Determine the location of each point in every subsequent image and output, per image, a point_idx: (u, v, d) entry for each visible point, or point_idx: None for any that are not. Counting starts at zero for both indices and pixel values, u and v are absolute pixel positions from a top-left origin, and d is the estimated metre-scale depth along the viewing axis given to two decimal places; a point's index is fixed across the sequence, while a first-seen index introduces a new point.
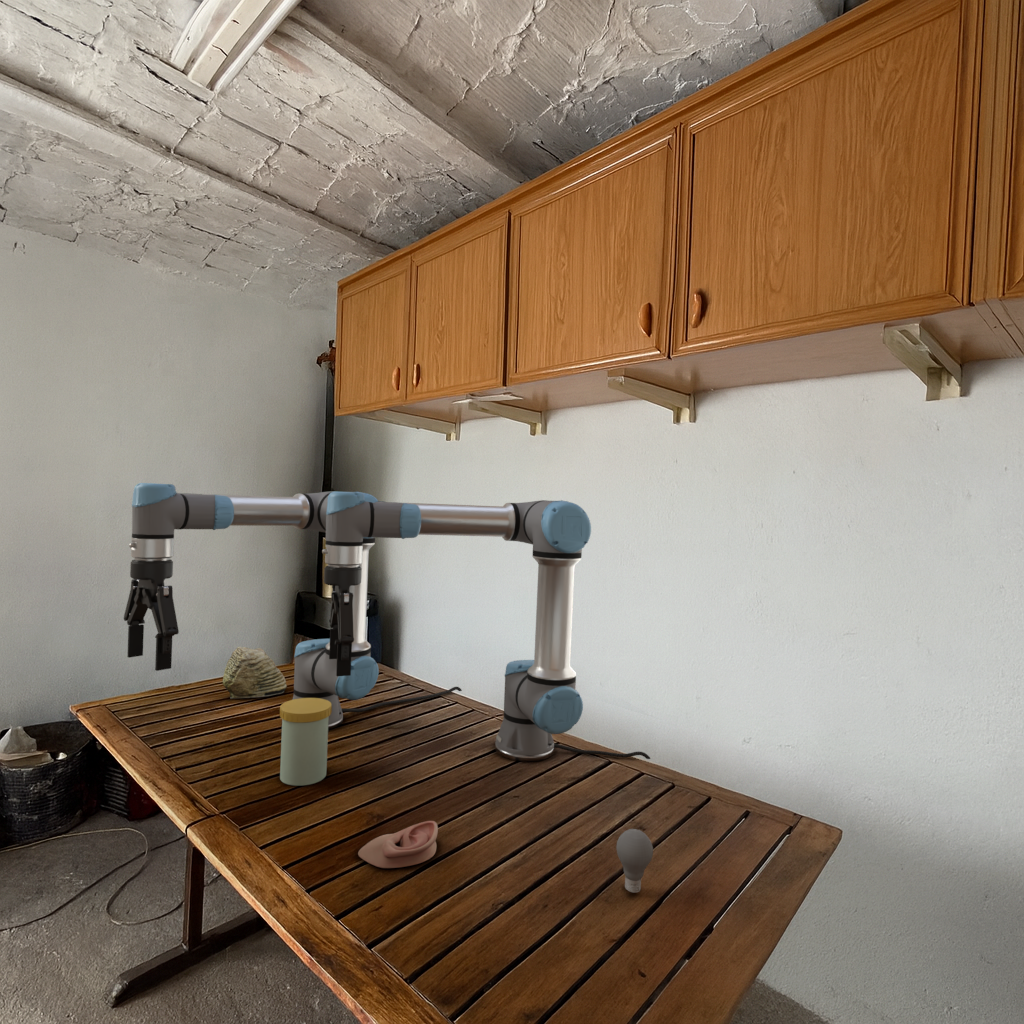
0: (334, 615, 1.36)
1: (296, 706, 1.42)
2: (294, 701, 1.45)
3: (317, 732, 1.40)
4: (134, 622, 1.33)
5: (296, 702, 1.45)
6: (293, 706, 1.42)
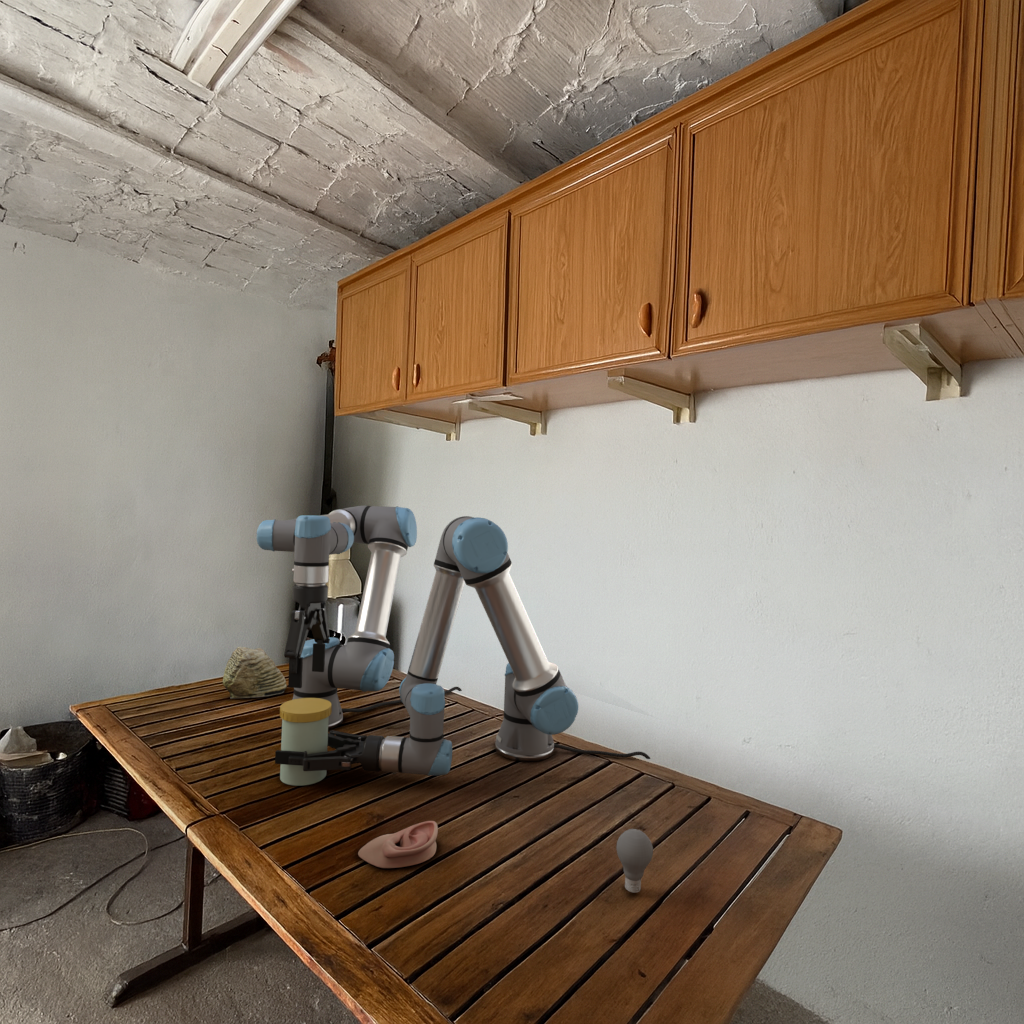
0: None
1: (296, 706, 1.42)
2: (294, 701, 1.45)
3: (317, 732, 1.40)
4: (319, 640, 1.50)
5: (296, 702, 1.45)
6: (293, 706, 1.42)
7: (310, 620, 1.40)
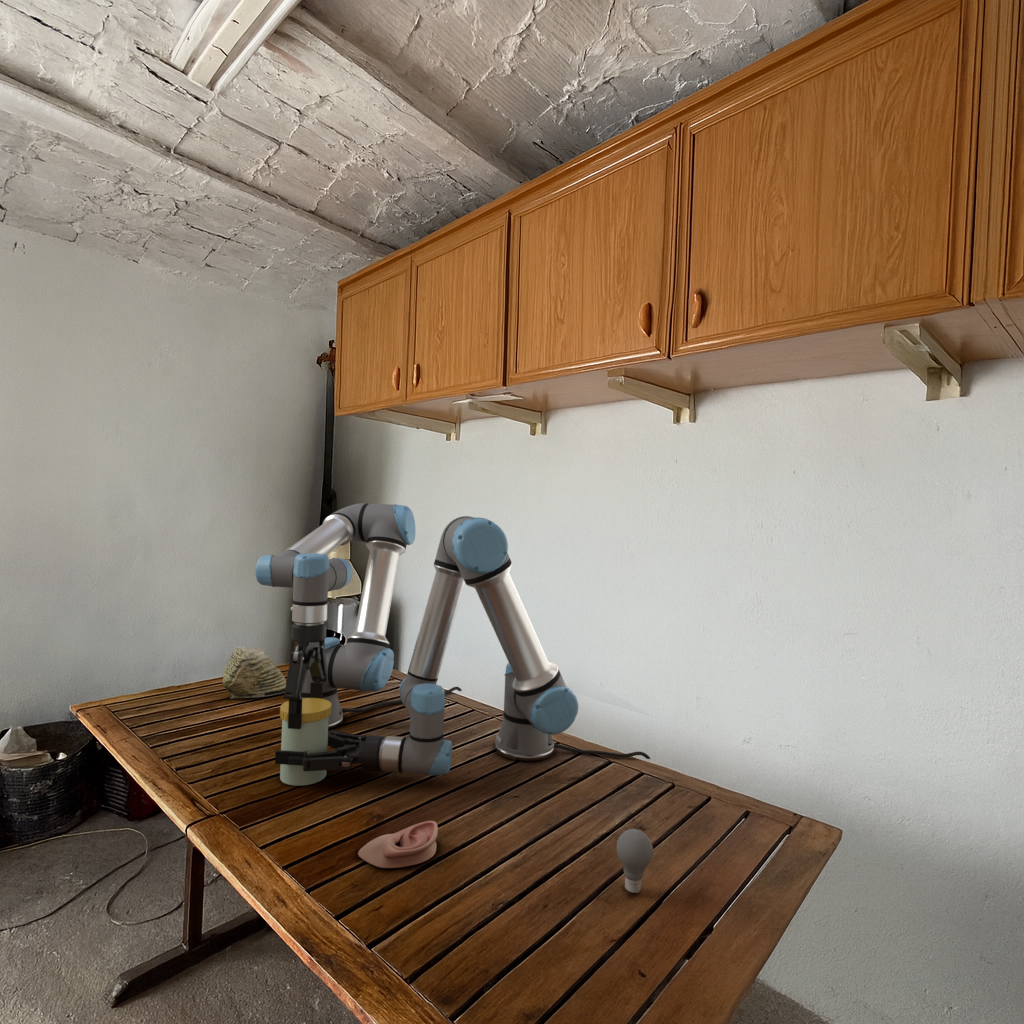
0: None
1: None
2: None
3: (317, 732, 1.40)
4: (316, 679, 1.49)
5: None
6: None
7: (309, 660, 1.40)
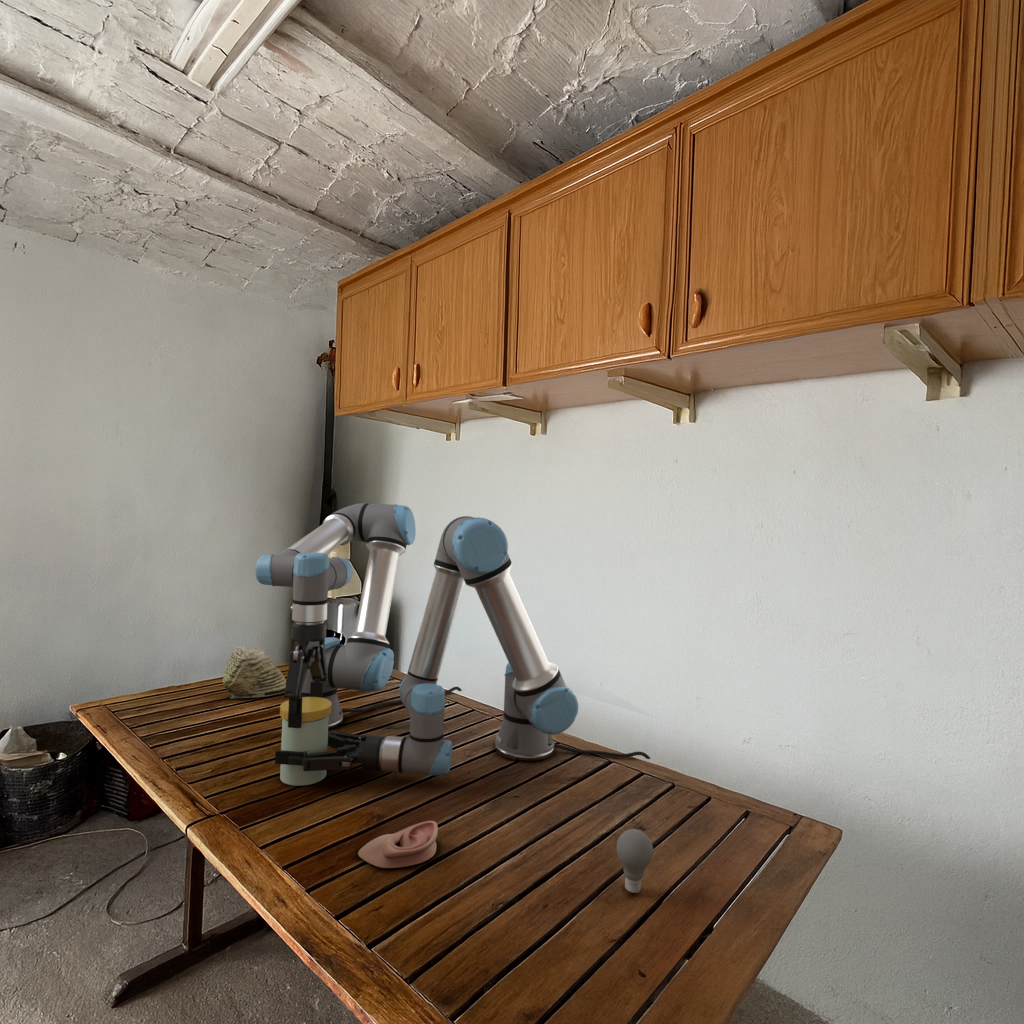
0: None
1: (304, 707, 1.41)
2: (286, 707, 1.41)
3: (317, 732, 1.40)
4: (316, 678, 1.49)
5: None
6: (302, 708, 1.40)
7: (309, 659, 1.40)
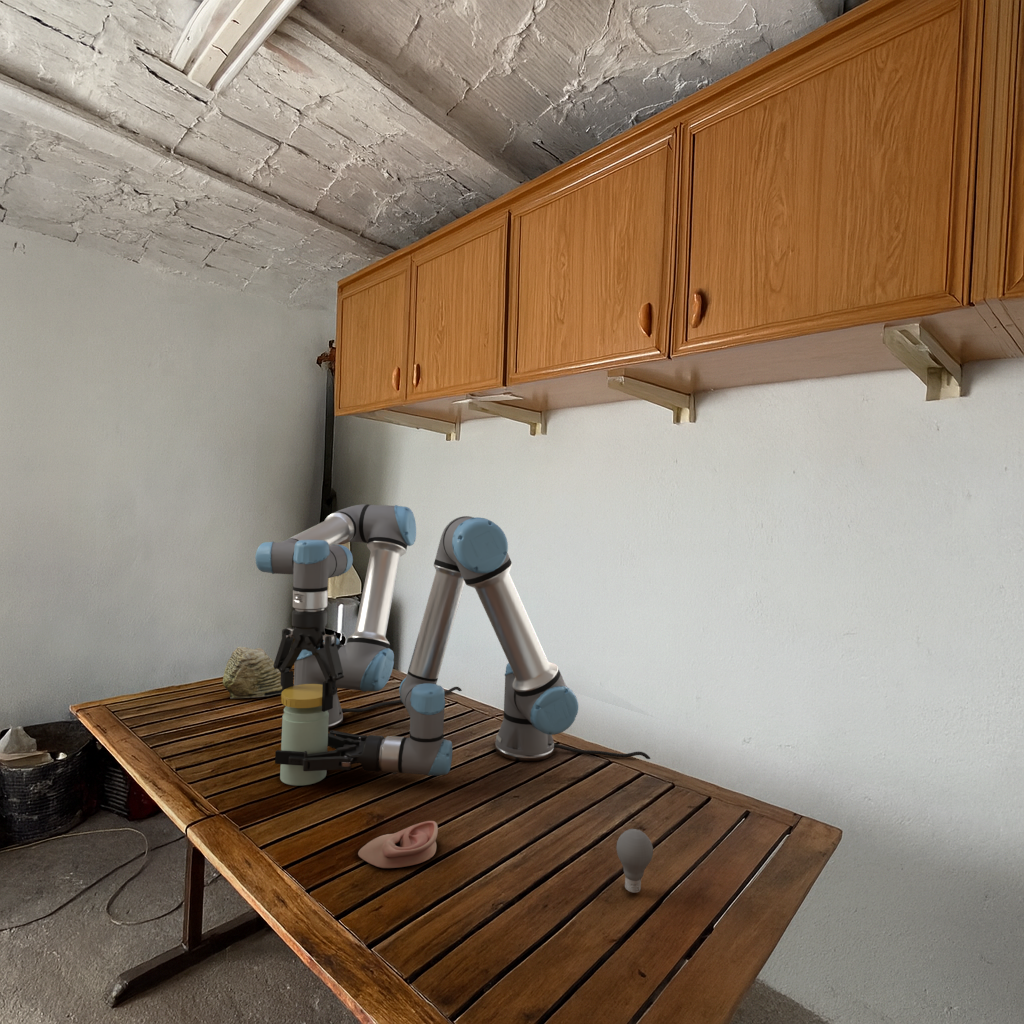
0: None
1: (315, 692, 1.43)
2: (306, 697, 1.39)
3: (317, 732, 1.40)
4: (286, 669, 1.46)
5: (307, 696, 1.40)
6: (317, 692, 1.43)
7: (323, 643, 1.43)
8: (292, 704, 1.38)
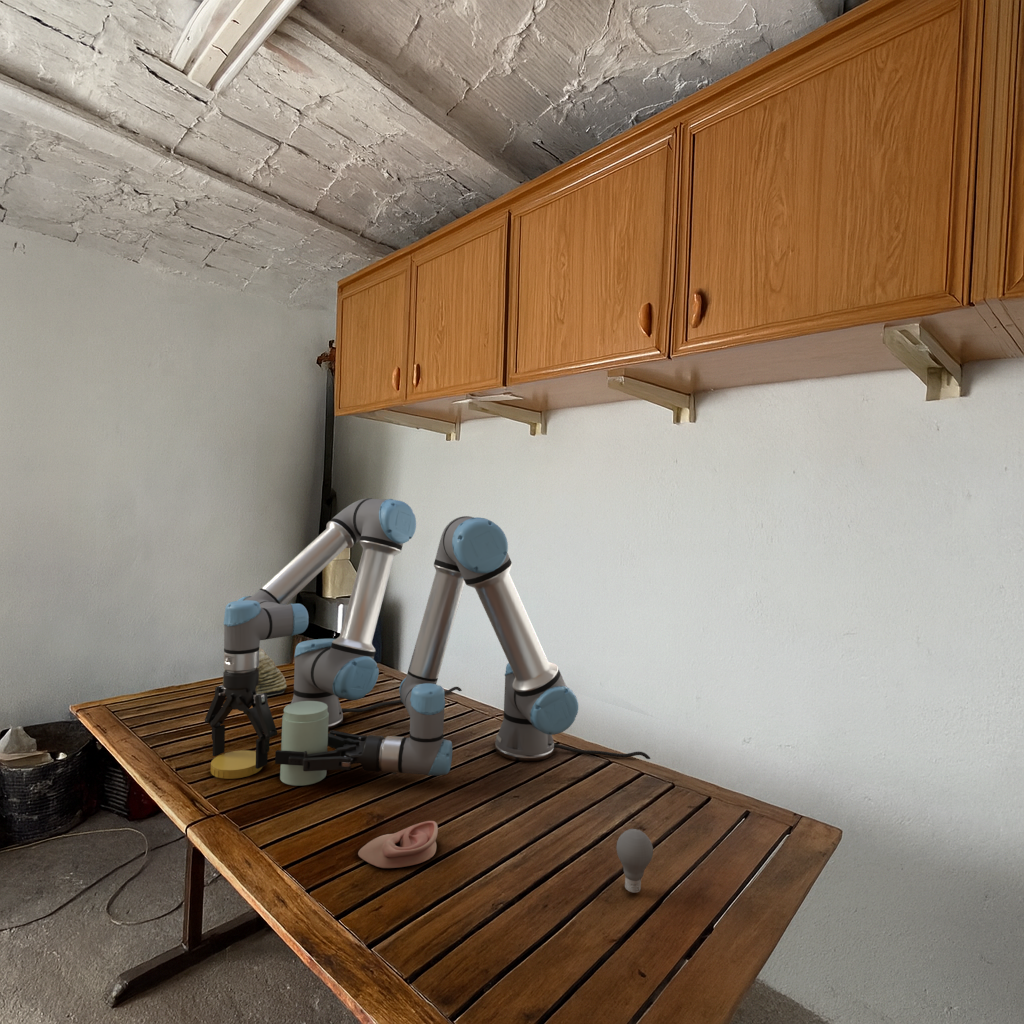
0: None
1: (245, 761, 1.45)
2: (234, 767, 1.41)
3: (317, 732, 1.40)
4: (217, 724, 1.49)
5: (236, 765, 1.43)
6: (247, 761, 1.45)
7: None
8: (220, 774, 1.40)
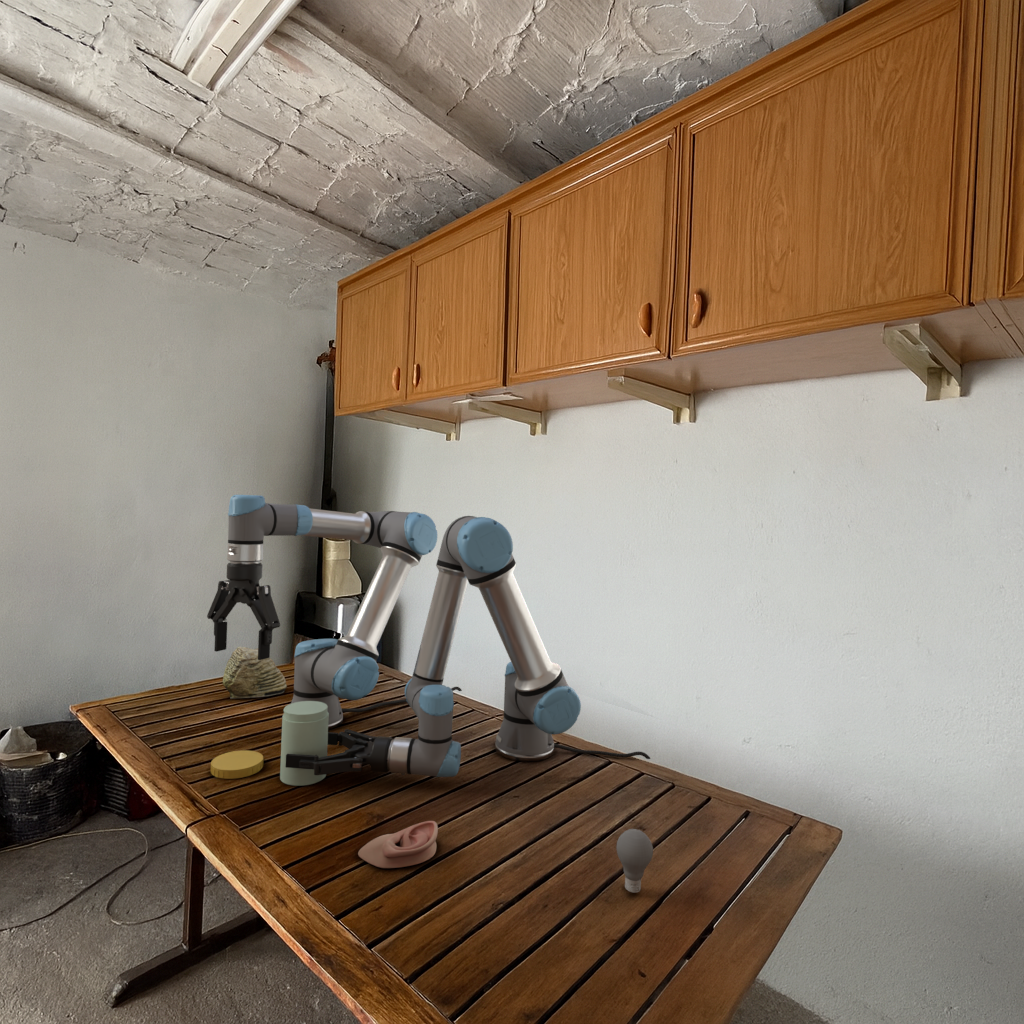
0: None
1: (245, 761, 1.45)
2: (234, 767, 1.41)
3: (317, 732, 1.40)
4: (219, 619, 1.48)
5: (236, 765, 1.43)
6: (247, 761, 1.45)
7: (258, 595, 1.45)
8: (220, 774, 1.40)
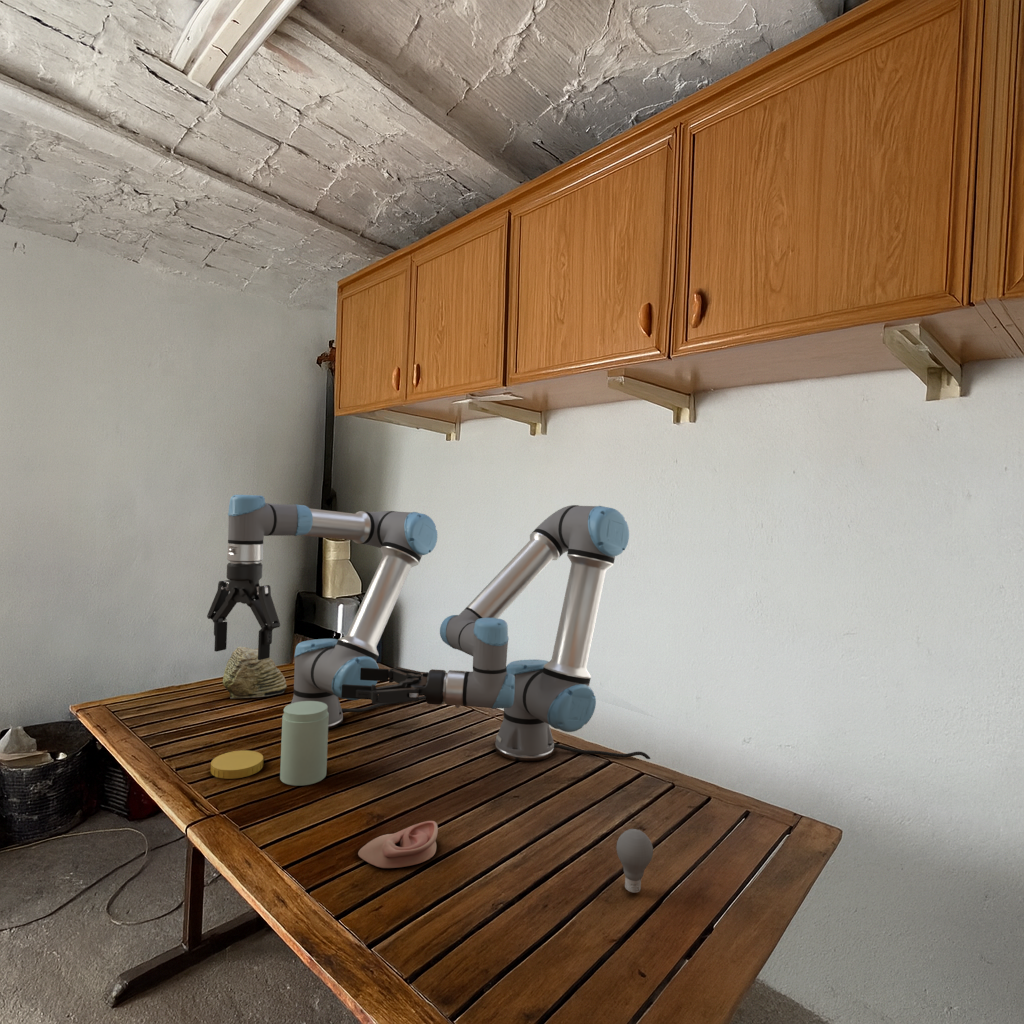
0: None
1: (245, 761, 1.45)
2: (234, 767, 1.41)
3: (317, 732, 1.40)
4: (219, 619, 1.48)
5: (236, 765, 1.43)
6: (247, 761, 1.45)
7: (258, 595, 1.45)
8: (220, 774, 1.40)
